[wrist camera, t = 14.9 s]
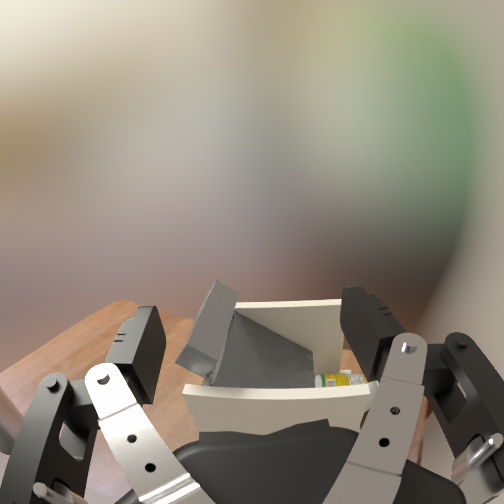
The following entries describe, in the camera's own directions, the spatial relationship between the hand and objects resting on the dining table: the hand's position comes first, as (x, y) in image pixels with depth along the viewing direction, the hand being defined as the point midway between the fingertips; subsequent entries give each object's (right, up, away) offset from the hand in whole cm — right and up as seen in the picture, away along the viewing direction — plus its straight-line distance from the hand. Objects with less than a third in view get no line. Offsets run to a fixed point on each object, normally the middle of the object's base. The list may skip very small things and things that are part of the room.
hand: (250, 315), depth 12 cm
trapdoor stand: (+5, -19, +21) cm, 29 cm away
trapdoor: (0, -10, +18) cm, 20 cm away
